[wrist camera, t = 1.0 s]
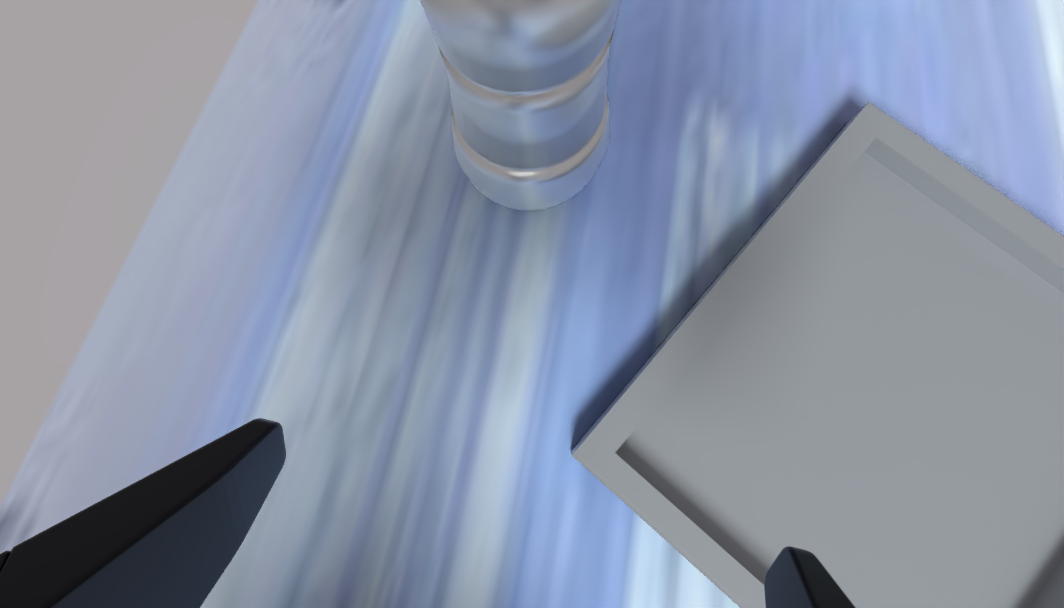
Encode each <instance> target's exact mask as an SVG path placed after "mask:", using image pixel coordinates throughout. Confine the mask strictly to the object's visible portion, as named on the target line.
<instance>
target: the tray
mask: <svg viewBox="0 0 1064 608" xmlns="http://www.w3.org/2000/svg"><path fill="white" fill-rule="evenodd" d="M571 454H572V456H573V457H574V458H575V459H577V460H578V461H579V462H580V463H581V464H582V465H583V466H584V467H585V468H586V469H588V470H589V471H590V472H591V473H592V474H593V475H594V476H595V477H596V478H598V479H599V480H600V481H601V482H602V483H603V484H604V485H605V486H606V487H607V488H609V489H610V490H611V491H612V492H613V493H614V494H615V495H616V496H617V497H619V498H620V499H621V500H622V501H623V502H624V503H625V504H626V505H627V506H628V507H630V508H631V509H632V510H633V511H634V512H635V513H636V514H637V515H638V516H640V517H641V518H642V519H643V520H644V521H645V522H646V523H647V524H648V525H649V526H651V527H652V528H653V529H654V530H655V531H656V532H657V533H658V534H659V535H661V536H662V537H663V538H664V539H665V540H666V541H667V542H668V543H669V544H670V545H672V546H673V547H674V548H675V549H676V550H677V551H678V552H679V553H680V554H682V555H683V556H684V557H685V558H686V559H687V560H688V561H689V562H690V563H692V564H693V565H694V566H695V567H696V568H697V569H698V570H699V571H700V572H701V573H703V574H704V575H705V576H706V577H707V578H708V579H709V580H710V581H711V582H713V583H714V584H715V585H716V586H717V587H718V588H719V589H720V590H721V591H722V592H724V593H725V594H726V595H727V596H728V597H729V598H730V599H731V600H732V601H734V602H735V603H736V604H737V605H738V606H739V607H740V608H766V605H765V591H764V580H765V576H766V573H767V571H768V569H769V568H770V566H771V565H772V563H773V562H774V561H775V559H776V558H777V556H778V555H779V553H780V552H781V550H782V549H783V548H785V547H787V546H791V547H795V548H799V549H804V550H807V551H810V552H811V553H813V554H814V555H815V556H816V557H817V558H818V560H819V561H820V562H821V563H822V565H823V566H824V567H825V569H826V570H827V571H828V572H829V574H830V575H831V576H832V578H833V579H834V580H835V581H836V583H837V584H838V585H839V587H840V588H841V589H842V590H843V592H844V593H845V594H846V596H847V597H848V598H849V600H850V601H851V602H852V603H853V605H854V606H855V607H856V608H1064V236H1062V235H1061V234H1060V233H1058V232H1057V231H1055V230H1054V229H1052V228H1051V227H1049V226H1048V225H1047V224H1045V223H1044V222H1042V221H1041V220H1039V219H1038V218H1036V217H1035V216H1033V215H1032V214H1031V213H1029V212H1028V211H1026V210H1025V209H1023V208H1022V207H1020V206H1019V205H1018V204H1016V203H1015V202H1013V201H1012V200H1010V199H1009V198H1007V197H1006V196H1005V195H1003V194H1002V193H1000V192H999V191H997V190H996V189H994V188H993V187H991V186H990V185H989V184H987V183H986V182H984V181H983V180H981V179H980V178H978V177H977V176H976V175H974V174H973V173H971V172H970V171H968V170H967V169H965V168H964V167H963V166H961V165H960V164H958V163H957V162H955V161H954V160H952V159H951V158H949V157H948V156H947V155H945V154H944V153H942V152H941V151H939V150H938V149H936V148H935V147H934V146H932V145H931V144H929V143H928V142H926V141H925V140H923V139H922V138H921V137H919V136H918V135H916V134H915V133H913V132H912V131H910V130H909V129H907V128H906V127H905V126H903V125H902V124H900V123H899V122H897V121H896V120H894V119H893V118H892V117H890V116H889V115H887V114H886V113H884V112H883V111H881V110H880V109H878V108H877V107H876V106H874V105H873V104H871V103H870V102H868V103H867V104H866V105H865V106H864V107H863V108H862V109H861V110H860V111H859V112H858V113H857V114H856V115H854V116H853V117H852V118H851V119H850V120H849V121H848V122H847V123H846V125H845V126H844V127H843V128H842V129H841V131H840V132H839V133H838V134H837V135H836V136H835V138H834V139H833V140H832V141H831V142H830V144H829V145H828V146H827V147H826V148H825V150H824V151H823V152H822V153H821V154H820V156H819V157H818V158H817V159H816V160H815V161H814V163H813V164H812V165H811V166H810V167H809V169H808V170H807V171H806V172H805V173H804V175H803V176H802V177H801V178H800V179H799V180H798V182H797V183H796V184H795V185H794V186H793V188H792V189H791V190H790V191H789V192H788V194H787V195H786V196H785V197H784V198H783V199H782V201H781V202H780V203H779V204H778V205H777V207H776V208H775V209H774V210H773V211H772V213H771V214H770V215H769V216H768V217H767V219H766V220H765V221H764V222H763V223H762V224H761V226H760V227H759V228H758V229H757V230H756V232H755V233H754V234H753V235H752V236H751V238H750V239H749V240H748V241H747V242H746V243H745V245H744V246H743V247H742V248H741V249H740V251H739V252H738V253H737V254H736V255H735V257H734V258H733V259H732V260H731V261H730V262H729V264H728V265H727V266H726V267H725V268H724V270H723V271H722V272H721V273H720V274H719V276H718V277H717V278H716V279H715V280H714V282H713V283H712V284H711V285H710V286H709V287H708V289H707V290H706V291H705V292H704V293H703V295H702V296H701V297H700V298H699V299H698V301H697V302H696V303H695V304H694V305H693V306H692V308H691V309H690V310H689V311H688V312H687V314H686V315H685V316H684V317H683V318H682V320H681V321H680V322H679V323H678V324H677V325H676V327H675V328H674V329H673V330H672V331H671V333H670V334H669V335H668V336H667V337H666V339H665V340H664V341H663V342H662V343H661V344H660V346H659V347H658V348H657V349H656V350H655V352H654V353H653V354H652V355H651V356H650V358H649V359H648V360H647V361H646V362H645V364H644V365H643V366H642V367H641V368H640V369H639V371H638V372H637V373H636V374H635V375H634V377H633V378H632V379H631V380H630V381H629V383H628V384H627V385H626V386H625V387H624V388H623V390H622V391H621V392H620V393H619V394H618V396H617V397H616V398H615V399H614V400H613V402H612V403H611V404H610V405H609V406H608V407H607V409H606V410H605V411H604V412H603V413H602V415H601V416H600V417H599V418H598V419H597V421H596V422H595V423H594V424H593V425H592V427H591V428H590V429H589V430H588V431H587V432H586V434H585V435H584V436H583V437H582V438H581V440H580V441H579V442H578V443H577V444H576V446H575V447H574V448H573V449H572V450H571Z"/></svg>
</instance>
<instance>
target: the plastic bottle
mask: <svg viewBox="0 0 1064 608" xmlns="http://www.w3.org/2000/svg"><path fill="white" fill-rule="evenodd" d="M420 2H421V4H422V6H423V8H424V10H425V13H426V15H427V18H428V21H429V23H430V26H431V29H432V31H433V34H434V36H435V39H436V42H437V44H438V47H439V50H440V52H441V55H442V57H443V60H444V63H445V66H446V72H447V78H448V83H449V89H450V95H451V101H452V118H451V124H452V133H453V142H454V149H455V154H456V157H457V159H458V162H459V165H460V166H461V168H462V170H463V171H464V173H465V174H466V176H467V177H468V178H469V180H470V181H471V182H472V183H473V184H474V185H475V187H476V188H477V189H478V190H479V191H480V192H481V193H482V194H483V195H484V196H486V197H487V198H489V199H490V200H492V201H493V202H495V203H497V204H499V205H502V206H504V207H507V208H511V209H516V210H522V211H536V210H541V209H547V208H551V207H554V206H556V205H559V204H561V203H564V202H565V201H567V200H569V199H570V198H572V197H573V196H575V195H576V194H577V193H578V192H579V191H581V190H582V189H583V188H584V187H585V186H586V184H587V183H588V182H589V180H590V179H591V178H592V176H593V175H594V173H595V172H596V170H597V169H598V167H599V165H600V164H601V161H602V159H603V157H604V155H605V153H606V151H607V146H608V142H609V138H610V105H609V100H608V94H607V79H608V62H609V47H610V43H611V39H612V35H613V31H614V28H615V23H616V19H617V15H618V11H619V7H620V3H621V0H420Z"/></svg>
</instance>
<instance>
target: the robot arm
mask: <svg viewBox="0 0 1064 608" xmlns="http://www.w3.org/2000/svg"><path fill="white" fill-rule="evenodd" d="M285 459H286V449H285V443H284V436H283V429H282V426H281V425H280V423H278V422H275V421H270V420H266V419H261V418H259V419H255V420H252V421H250V422H248V423H247V424H245V425H243V426H241V427H239V428H237V429H235V430H233V431H231V432H230V433H228V434H226V435H224V436H222V437H220V438H218V439H216V440H214V441H213V442H211V443H209V444H207V445H205V446H203V447H201V448H199V449H198V450H196V451H194V452H192V453H190V454H188V455H186V456H184V457H182V458H181V459H179V460H177V461H175V462H173V463H171V464H169V465H167V466H165V467H164V468H162V469H160V470H158V471H156V472H154V473H152V474H150V475H149V476H147V477H145V478H143V479H141V480H139V481H137V482H135V483H133V484H132V485H130V486H128V487H126V488H124V489H122V490H120V491H118V492H116V493H115V494H113V495H111V496H109V497H107V498H105V499H103V500H101V501H100V502H98V503H96V504H94V505H92V506H90V507H88V508H86V509H84V510H83V511H81V512H79V513H77V514H75V515H73V516H71V517H69V518H67V519H66V520H64V521H62V522H60V523H58V524H56V525H54V526H52V527H50V528H49V529H47V530H45V531H43V532H41V533H39V534H37V535H35V536H34V537H32V538H30V539H28V540H26V541H24V542H22V543H20V544H18V545H17V546H15V547H14V548H13V549H12V550H11V551H5V552H3V553H1V554H0V608H200V606H201V605H202V603H203V602H204V600H205V599H206V597H207V596H208V594H209V593H210V591H211V590H212V588H213V587H214V585H215V584H216V582H217V581H218V579H219V578H220V576H221V575H222V573H223V572H224V570H225V569H226V567H227V566H228V564H229V563H230V561H231V560H232V558H233V557H234V555H235V553H236V552H237V550H238V549H239V547H240V546H241V544H242V542H243V540H244V538H245V537H246V535H247V533H248V531H249V529H250V528H251V526H252V524H253V522H254V520H255V518H256V516H257V514H258V512H259V511H260V509H261V507H262V505H263V503H264V501H265V499H266V497H267V496H268V494H269V492H270V490H271V488H272V486H273V484H274V482H275V480H276V479H277V477H278V475H279V473H280V471H281V469H282V467H283V465H284V462H285ZM764 591H765V605H766V608H856V607H855V606H854V605H853V603H852V602H851V601H850V600H849V598H848V597H847V596H846V594H845V593H844V592H843V590H842V589H841V588H840V587H839V585H838V584H837V583H836V581H835V580H834V579H833V578H832V576H831V575H830V574H829V572H828V571H827V570H826V569H825V567H824V566H823V565H822V563H821V562H820V561H819V560H818V558H817V557H816V556H815V555H814V554H813V553H811V552H810V551H807V550H804V549H799V548H795V547H791V546H787V547H785V548H783V549H782V550H781V552H780V553H779V555H778V556H777V558H776V559H775V561H774V562H773V563H772V565H771V566H770V568H769V569H768V571H767V573H766V576H765V580H764Z"/></svg>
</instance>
